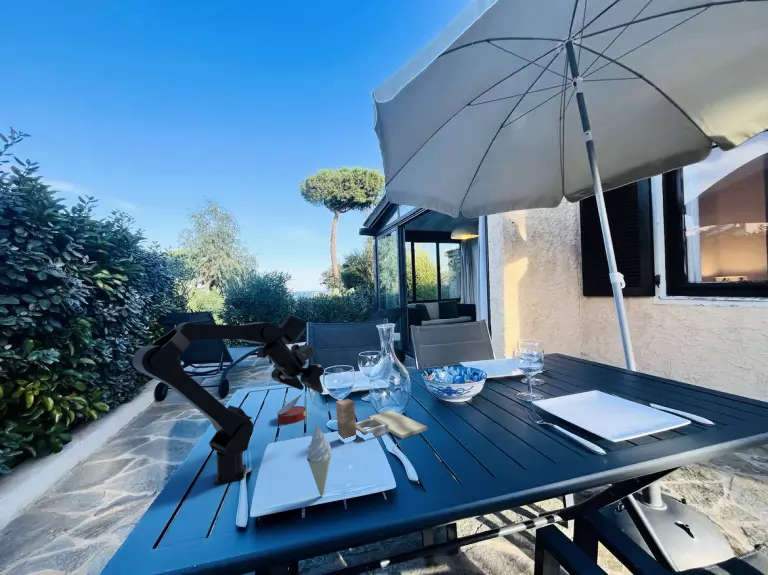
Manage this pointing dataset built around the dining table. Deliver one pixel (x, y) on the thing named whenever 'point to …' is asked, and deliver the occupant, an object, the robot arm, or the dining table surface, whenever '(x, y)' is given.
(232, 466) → the robot arm
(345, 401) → the peg
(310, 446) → the ice cream cone
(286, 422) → the canned food
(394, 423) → the socket
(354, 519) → the dining table surface
